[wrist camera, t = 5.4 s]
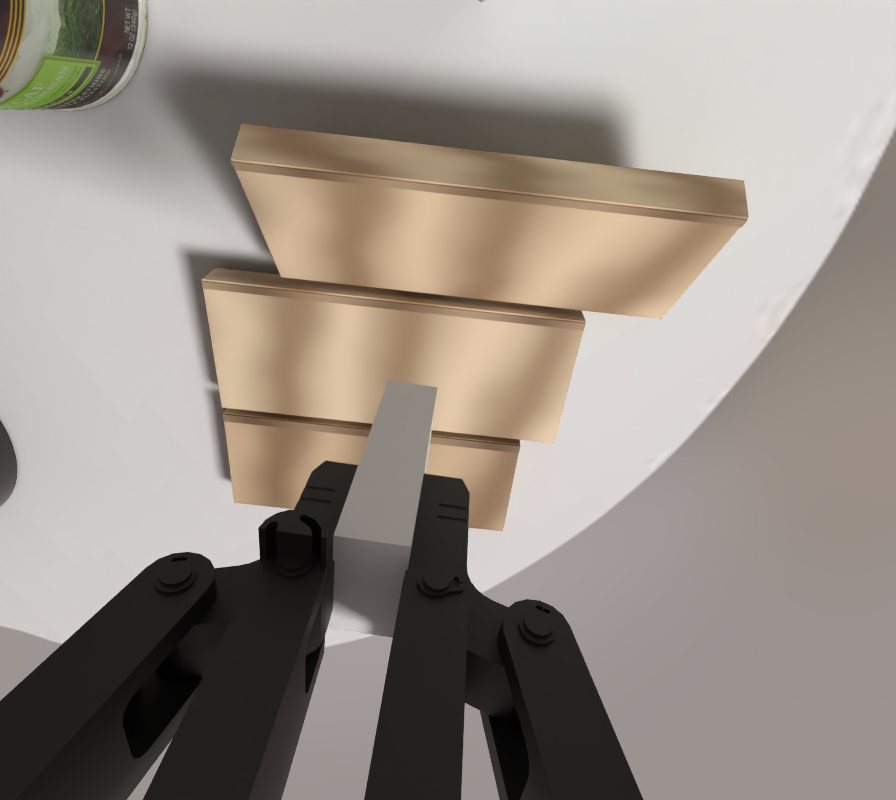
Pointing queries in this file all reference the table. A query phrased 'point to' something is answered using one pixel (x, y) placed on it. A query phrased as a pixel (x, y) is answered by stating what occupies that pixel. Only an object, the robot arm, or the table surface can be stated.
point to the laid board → (356, 460)
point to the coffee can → (68, 51)
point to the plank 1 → (483, 221)
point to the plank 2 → (389, 352)
